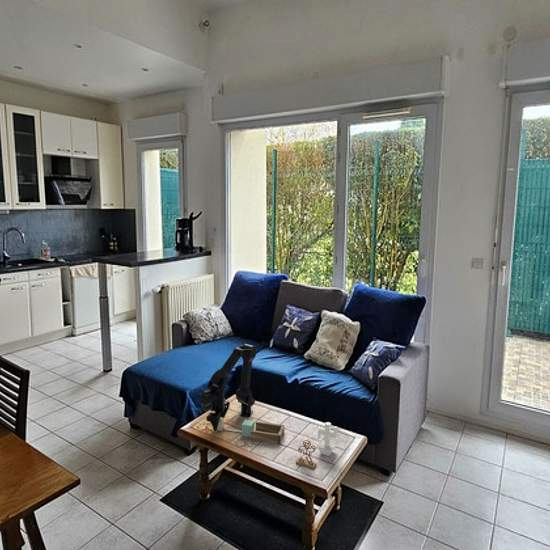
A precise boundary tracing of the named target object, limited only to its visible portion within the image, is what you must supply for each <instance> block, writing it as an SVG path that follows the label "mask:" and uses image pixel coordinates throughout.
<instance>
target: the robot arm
mask: <svg viewBox="0 0 550 550" xmlns="http://www.w3.org/2000/svg"><path fill="white" fill-rule="evenodd" d="M257 351H258V350H257V347H256V346H254V345H251V344H248V343H244V344H243V345H239V346H237V347H234V348H233V350H232V352H231V353H230V355H229V357H228V358H227V360H226V361H225V362H224V364H223V365H222V366H221V368H220V369H218V370H216V371H214V373H213V374H212V375H211V377H210V379H209V382H208V384H207V386H206V390H204V391H202V393H201V394H200V397H199V401H200V403H201V404H202V405H201V410H202V411H203V412H207V411H209V410H210V412H209V413H208V415H206V417H205V420H206V422H209V423H211V425H212V428H213V431H214V432H217V431H218V430H217V427H218V425H219V422H220V417H223V418H224V419H225V417H226V415H227V413H228V411H229V409H230V406H231V404H230V401H228V400H226V398H225V389H227V388H228V386H227V385H226V384H227V383H228V380H229V378H230V377H229V376H230V375H229V374H230V373H231V372H232V370H233V369H234V367H235V366H236V365H237V363H238V362H239V360H240V359H242V368H241V369H242V370H241V378H240V379H241V380H240V386H239V388H238V389H236V390H235V397H236V400H237V403H239V404H240V412H239V413H238V415H239V416H243V417H251V416H252V414H253V412H254V410H252V407H254V405H255V403H256V399H255V398H254V397H253V392H252V389H251V386H250V385H251V377H252V375H251V374H252V368H253V367H252V366H253V365H252V364H253V361H254V359H255V358H256V355H257Z"/></svg>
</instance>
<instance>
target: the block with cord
mask: <svg viewBox="0 0 550 550" xmlns="http://www.w3.org/2000/svg"><path fill="white" fill-rule="evenodd" d="M224 419H225V417H224V418H223V417H220V422H219V425H218V427H217V430H216V431H220V432H221V431H228V432H234V433H240V434H241V436H242V437H243V436H244V437H248V438H249V437H250V438H251V430H254V431H255V420H249V419H244V421H243V422H242V424H241V430H237V429H232V428H231V429H230V428H224V425H225V424H224V421H225V420H224Z"/></svg>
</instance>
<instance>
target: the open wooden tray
mask: <svg viewBox="0 0 550 550" xmlns="http://www.w3.org/2000/svg"><path fill="white" fill-rule="evenodd" d="M284 435H285V424H278V423H271V422H265V421H257V420H256V421H255V429H254V430H251V437H250V440H251V441H257V442H264V443H271V444H275V445H280V444H281V443H282V440H283V437H284Z"/></svg>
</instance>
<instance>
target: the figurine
mask: <svg viewBox="0 0 550 550" xmlns="http://www.w3.org/2000/svg"><path fill="white" fill-rule="evenodd" d="M331 429H332V423H331V422H329V421H327V422H325V423H324V427H319V428H318V429H317V439H319V440H320V439H322V436H323V435H324V439H322V440H321V441H320V442H319V444H318V445H317V446H316V448H317V450H318V452H319V453H320V455H325V456H327V457H329V456H331V454H332V453H333V451H334V450H335V448H336V446H337V444H338V443H334V442H331V438H334V439H336V438H337V437H338V426H335V425H334V427H333V430H331Z"/></svg>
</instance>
